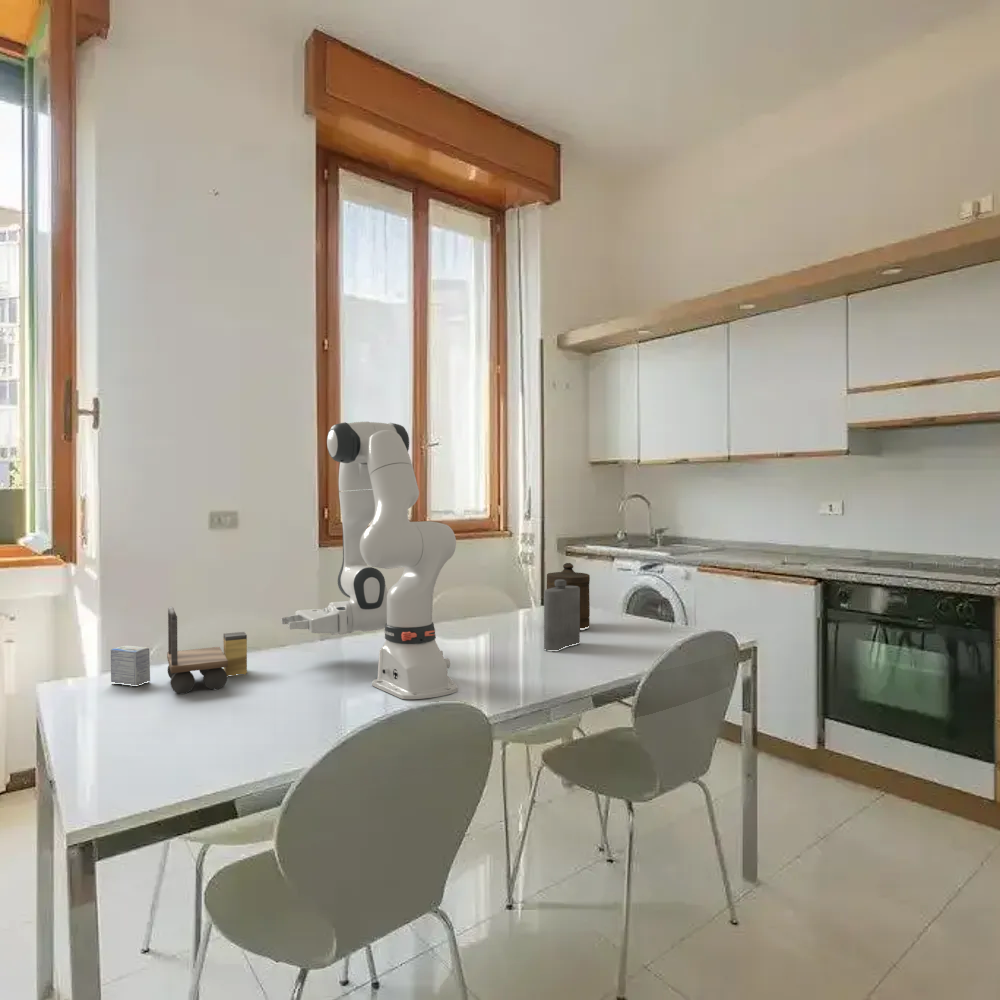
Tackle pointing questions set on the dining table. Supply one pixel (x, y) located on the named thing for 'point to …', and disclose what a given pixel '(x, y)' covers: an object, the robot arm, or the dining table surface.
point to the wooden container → (574, 580)
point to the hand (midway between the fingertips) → (284, 623)
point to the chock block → (235, 652)
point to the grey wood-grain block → (130, 665)
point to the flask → (561, 616)
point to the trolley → (193, 662)
